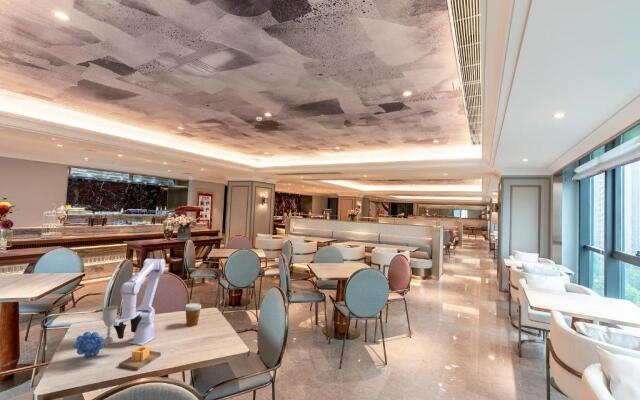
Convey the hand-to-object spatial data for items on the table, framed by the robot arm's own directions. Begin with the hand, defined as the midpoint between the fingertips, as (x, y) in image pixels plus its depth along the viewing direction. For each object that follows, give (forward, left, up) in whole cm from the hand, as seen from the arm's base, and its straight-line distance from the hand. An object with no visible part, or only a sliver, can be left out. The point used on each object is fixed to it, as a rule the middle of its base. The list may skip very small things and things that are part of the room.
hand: (127, 335), depth 145 cm
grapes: (+7, -14, -10) cm, 18 cm away
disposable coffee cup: (-42, +7, -10) cm, 44 cm away
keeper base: (+3, +11, -9) cm, 15 cm away
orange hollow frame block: (+3, +11, -8) cm, 14 cm away
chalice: (-8, -19, -10) cm, 23 cm away
